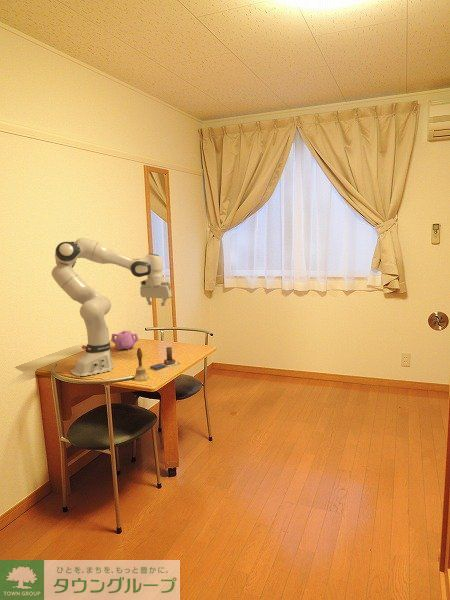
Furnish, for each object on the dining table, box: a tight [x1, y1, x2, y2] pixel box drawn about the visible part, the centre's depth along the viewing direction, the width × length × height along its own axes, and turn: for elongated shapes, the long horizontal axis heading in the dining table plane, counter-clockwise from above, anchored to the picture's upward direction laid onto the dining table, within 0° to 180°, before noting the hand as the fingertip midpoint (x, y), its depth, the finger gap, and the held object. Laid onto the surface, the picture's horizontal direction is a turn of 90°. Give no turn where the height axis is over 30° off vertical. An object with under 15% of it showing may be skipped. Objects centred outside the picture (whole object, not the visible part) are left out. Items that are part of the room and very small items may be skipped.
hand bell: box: [133, 347, 150, 382], centre depth 206 cm, size 8×8×16 cm
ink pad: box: [149, 363, 167, 371], centre depth 223 cm, size 6×5×1 cm
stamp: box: [163, 346, 176, 365], centre depth 228 cm, size 5×4×9 cm
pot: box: [110, 330, 139, 351], centre depth 262 cm, size 18×17×12 cm
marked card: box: [160, 361, 181, 368], centre depth 229 cm, size 8×8×1 cm
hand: (156, 305), depth 239 cm, fingers open, 8 cm apart
